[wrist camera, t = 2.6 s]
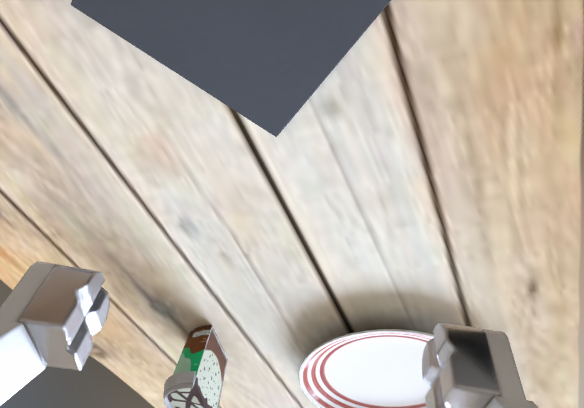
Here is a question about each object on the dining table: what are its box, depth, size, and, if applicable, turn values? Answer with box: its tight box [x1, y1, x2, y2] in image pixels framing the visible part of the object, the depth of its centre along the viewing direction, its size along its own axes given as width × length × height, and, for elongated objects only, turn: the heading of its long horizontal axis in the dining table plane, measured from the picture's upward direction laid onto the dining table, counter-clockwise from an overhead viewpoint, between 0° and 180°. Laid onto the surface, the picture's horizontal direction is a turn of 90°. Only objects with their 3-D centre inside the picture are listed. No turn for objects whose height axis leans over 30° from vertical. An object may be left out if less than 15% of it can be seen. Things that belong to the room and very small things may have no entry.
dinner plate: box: [299, 329, 434, 408], centre depth 68 cm, size 27×27×3 cm
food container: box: [164, 326, 227, 408], centre depth 66 cm, size 12×6×10 cm, turn 9°
